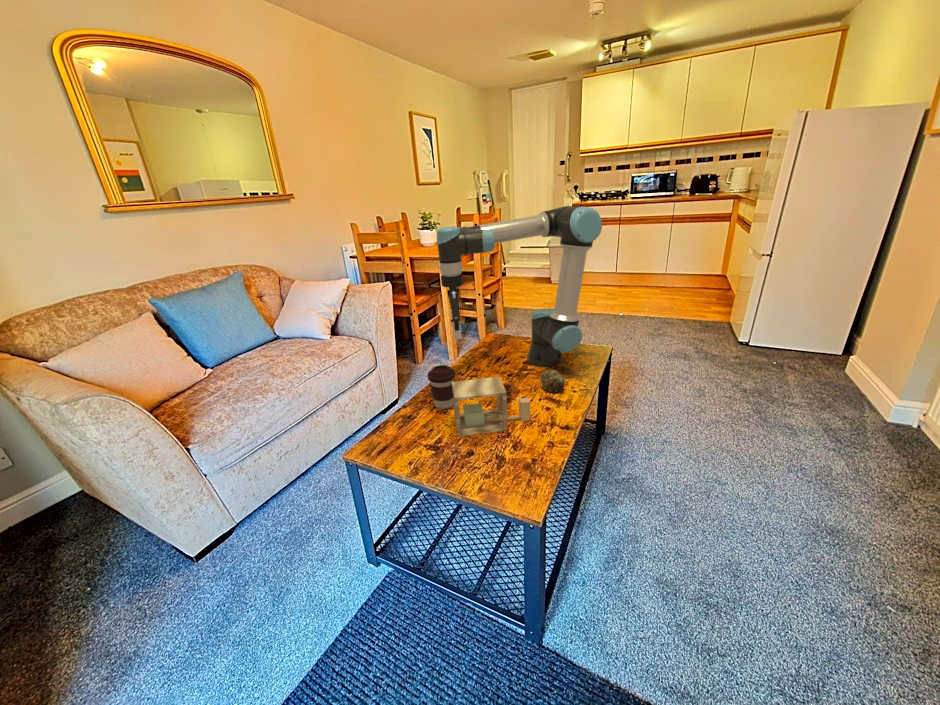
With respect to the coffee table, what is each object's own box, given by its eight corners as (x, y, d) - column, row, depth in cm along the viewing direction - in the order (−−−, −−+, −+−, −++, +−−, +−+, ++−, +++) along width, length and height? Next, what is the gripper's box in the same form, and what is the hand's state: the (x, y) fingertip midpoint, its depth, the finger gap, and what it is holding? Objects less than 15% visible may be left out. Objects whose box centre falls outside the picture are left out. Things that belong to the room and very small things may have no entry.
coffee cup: (437, 415, 138) (433, 377, 133) (427, 403, 147) (422, 367, 141) (462, 407, 142) (459, 370, 137) (451, 396, 151) (447, 360, 145)
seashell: (559, 398, 144) (560, 379, 141) (535, 393, 149) (535, 374, 146) (569, 385, 153) (570, 366, 150) (546, 380, 158) (547, 362, 155)
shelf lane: (500, 414, 137) (499, 376, 131) (507, 432, 127) (506, 392, 121) (455, 420, 135) (451, 381, 129) (458, 438, 125) (454, 398, 119)
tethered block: (526, 415, 135) (526, 395, 132) (531, 425, 130) (531, 404, 126) (464, 423, 133) (463, 402, 130) (466, 433, 128) (465, 412, 125)
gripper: (439, 268, 146) (445, 321, 155) (441, 283, 124) (447, 345, 132) (459, 266, 147) (464, 320, 155) (465, 281, 124) (469, 343, 132)
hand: (456, 331), depth 144 cm, fingers open, 13 cm apart
